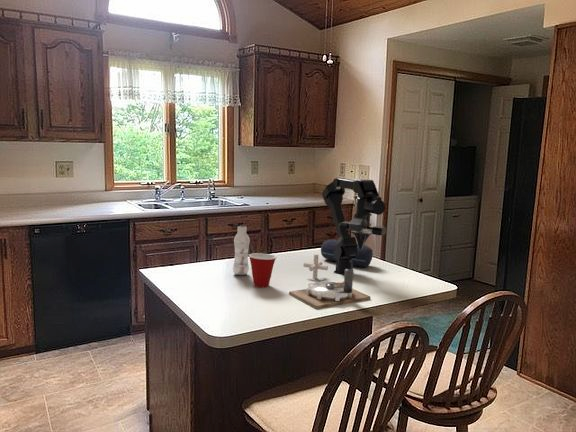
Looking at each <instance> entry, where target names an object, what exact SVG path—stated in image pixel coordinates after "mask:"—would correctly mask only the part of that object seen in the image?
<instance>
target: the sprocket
mask: <svg viewBox="0 0 576 432" xmlns="http://www.w3.org/2000/svg"><path fill="white" fill-rule="evenodd" d="M343 275H344V274H343ZM343 281H344V284H342V283H341V282H340V281H339V282H336V281H335V282H334V281H325V280H323V281H317V282H316V281H315V282H313V283H312V282H310V283H308V285H307V286H308V287H307V288H306V289H307V294H308V295H311V296H313V297H315V298H317V299H320V300H321V299H323V300H335V301H340V300H344V299H348V298H352V289H354V288H353V285H354V284H353V283H354V282H353V281H354V268H353V269H345V275H344V279H343Z"/></svg>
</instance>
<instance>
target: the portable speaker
mask: <svg viewBox="0 0 576 432" xmlns="http://www.w3.org/2000/svg"><path fill="white" fill-rule="evenodd" d="M337 241H338V239H327V240H325V241H323V243H322V244H321V246H320V254H321V256H322V258H324V259H326V260H328V261H331V262H336V259H335V258H333V252H334V251H335V250H336V249H337V246H336V244H337ZM357 245H358V243H357ZM357 247H358V252H357V255H356V259H352V263H353V267H354V266H356V267H360V268H366V267H369V266H370V264H371V262H372V260H373V249H372V248H371V247H370V246H368V245H366V244H364V246H363V248H362V249H359V245H358V246H357Z"/></svg>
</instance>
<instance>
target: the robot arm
mask: <svg viewBox="0 0 576 432" xmlns="http://www.w3.org/2000/svg"><path fill="white" fill-rule="evenodd" d="M346 189H348V190H352V191H353V193H355V194H356V195H355V196H354V199H355V200H356V209H355V210H356V211H355V213H354V214H353V215H354V216H353V218H352V219H351V220H350V221H346V218H345V214H344V211H343V207H342V203H343V200H344V199H343V198H344V197H343V196H344V194H346ZM321 196H322V199H323V202H324V204H325V205H326V206H327V207H328V208H329V210H330V211H331V216H332V219H333V220H332V221H333V225H334V227H335V230H336V231H335V232H336V235H337V240H338V241H337V244H336V246H337V249H336V250H335V251H334V252H333V258H335V259H336V261H335V270H334V271H333V273H334V274H335V273H336V274H341V275H345V269H353V270H354V265H353V263H352V259H356V255H357V252H358V247H357V246H358V245H359V249H362V248H363V246H364V245H366V242H367V241H368V238H369V237H370V235H374V236H375V235H376V236H383V235H386V234H387V231H388V230H387V227H386V226H382V225H375V226H372V224H371V223H372V222H371V217H372V214H374V215H377V216H378V215H382V214H383V213H384V212H385V210H386V204H385V202H384V201H383V200H382V196H380V195H379V192H378V189H377V186H376V183H375V182H374V180H373V179H356V180H355V179H349V178H346V177H336V178H334V179H333V181H332V182H330V183H329V184H328V185H326V186H325V187H324V189H323V191H322V194H321ZM349 231H350V232H351V234H353V235H354V236H352V235H351V234H350V232H349ZM357 244H358V245H357Z"/></svg>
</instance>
